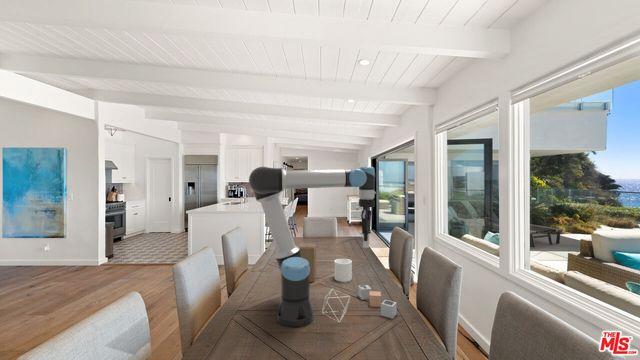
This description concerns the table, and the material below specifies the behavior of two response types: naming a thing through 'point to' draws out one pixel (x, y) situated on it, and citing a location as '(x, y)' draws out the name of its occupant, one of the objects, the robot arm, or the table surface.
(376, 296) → the plain cube
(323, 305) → the geometric polyhedron
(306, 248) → the block
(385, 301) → the marked cube
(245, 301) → the table surface
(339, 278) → the mug
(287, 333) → the table surface
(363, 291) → the marked cube
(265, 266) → the table surface
